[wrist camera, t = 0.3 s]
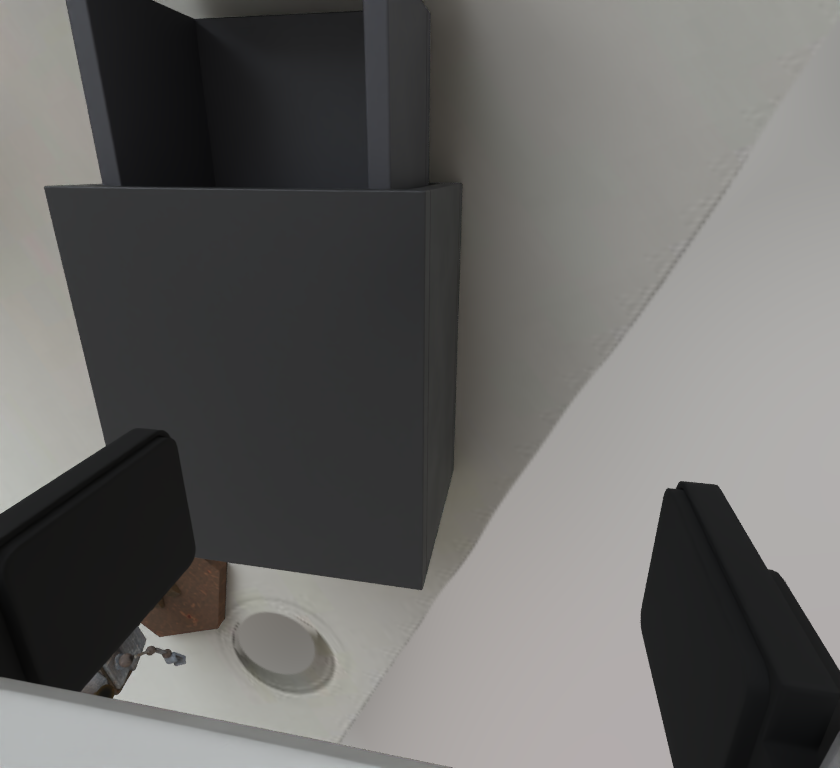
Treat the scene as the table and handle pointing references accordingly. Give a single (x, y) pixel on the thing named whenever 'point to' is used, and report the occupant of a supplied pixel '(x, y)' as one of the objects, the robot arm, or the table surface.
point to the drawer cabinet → (280, 360)
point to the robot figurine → (169, 623)
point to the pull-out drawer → (257, 96)
